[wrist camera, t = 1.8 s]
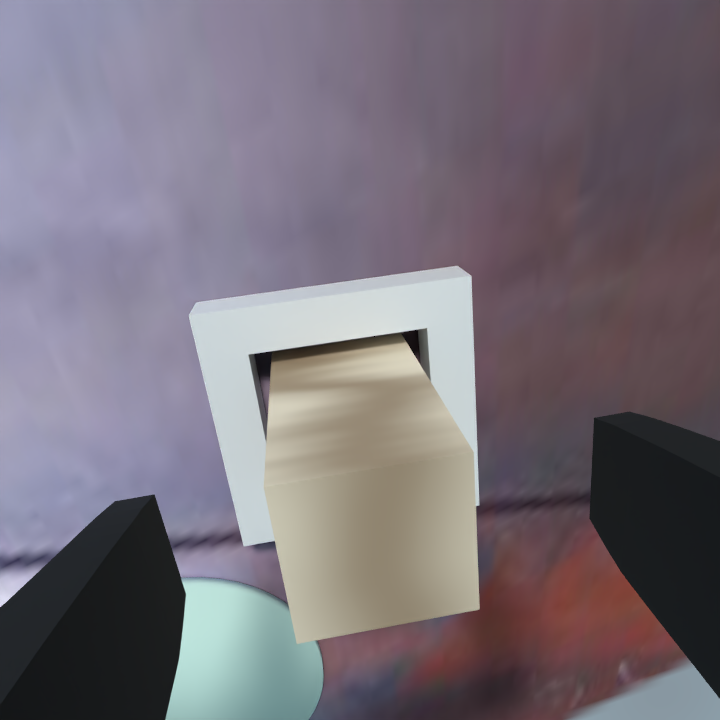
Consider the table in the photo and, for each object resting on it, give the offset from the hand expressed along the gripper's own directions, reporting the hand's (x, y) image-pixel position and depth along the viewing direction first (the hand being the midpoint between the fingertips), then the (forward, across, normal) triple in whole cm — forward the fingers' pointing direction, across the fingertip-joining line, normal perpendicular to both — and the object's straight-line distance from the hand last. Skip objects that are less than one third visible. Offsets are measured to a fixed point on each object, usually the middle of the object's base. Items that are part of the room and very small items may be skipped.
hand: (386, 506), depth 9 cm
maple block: (+10, 0, +3) cm, 11 cm away
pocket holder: (+10, 0, +3) cm, 11 cm away
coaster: (+10, +8, +15) cm, 20 cm away
